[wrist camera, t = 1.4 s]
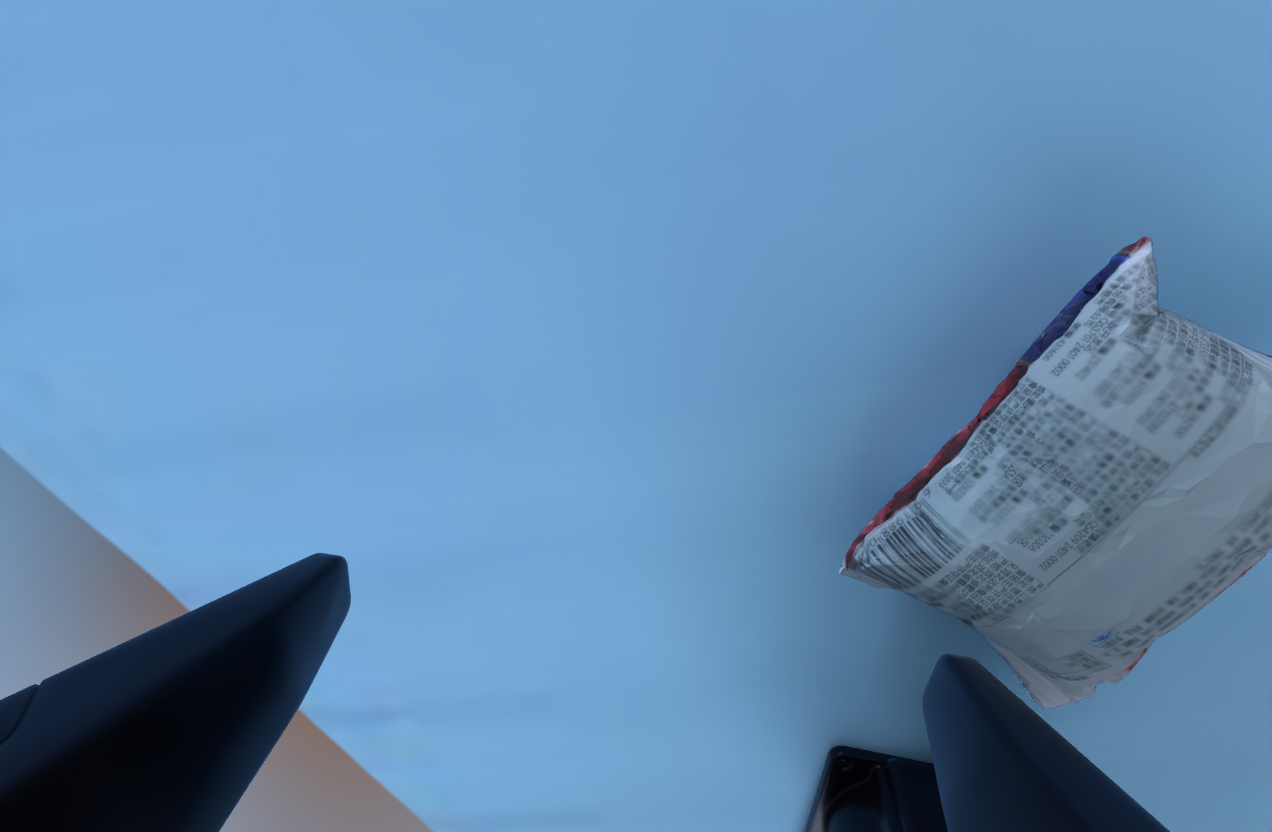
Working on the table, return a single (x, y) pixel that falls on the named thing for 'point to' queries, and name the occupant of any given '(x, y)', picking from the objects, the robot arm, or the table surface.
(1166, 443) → the packaged food
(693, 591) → the table surface
